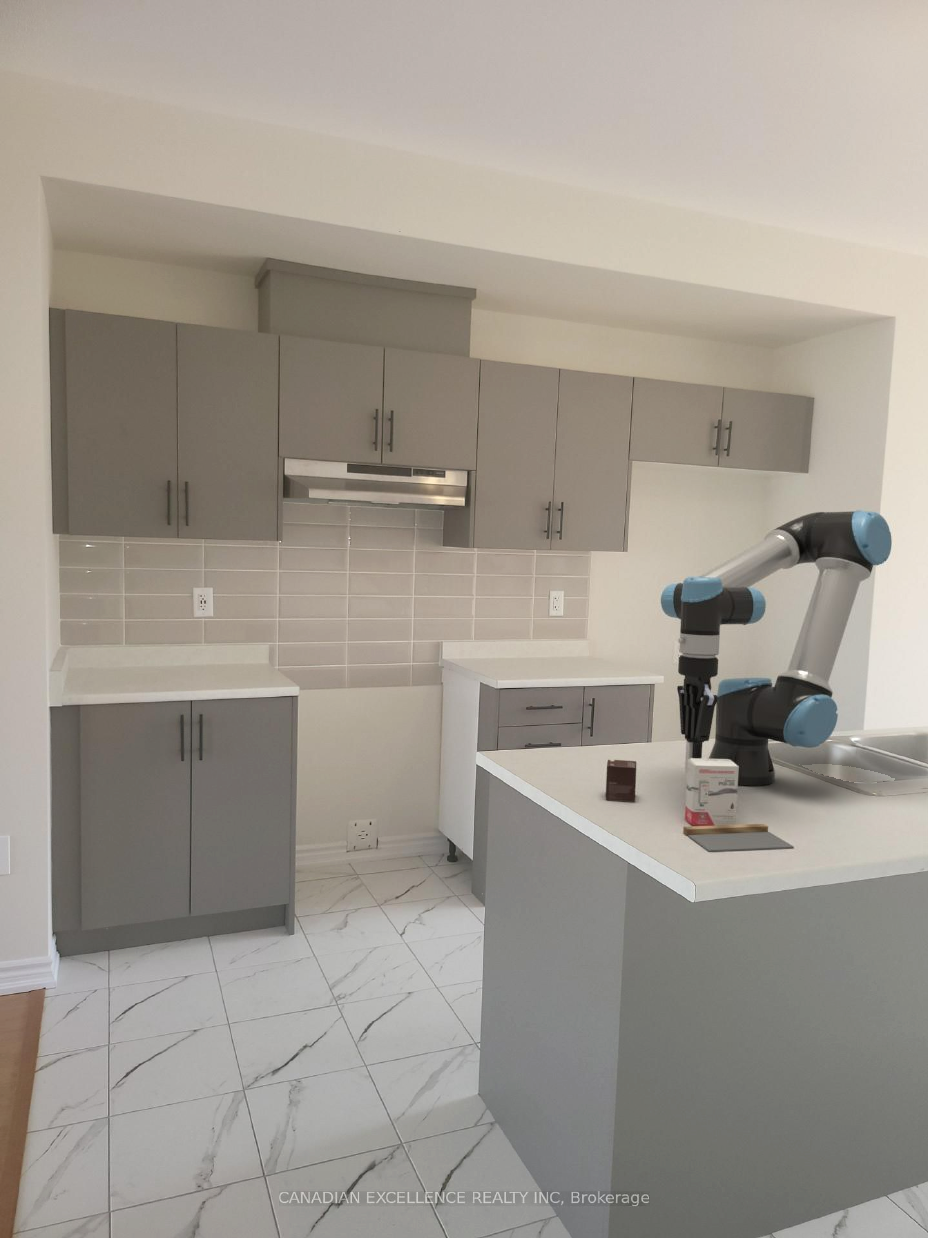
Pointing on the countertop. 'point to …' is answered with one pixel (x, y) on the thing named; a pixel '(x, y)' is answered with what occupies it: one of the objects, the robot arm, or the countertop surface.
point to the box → (621, 780)
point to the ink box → (711, 792)
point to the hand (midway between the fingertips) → (692, 773)
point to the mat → (740, 841)
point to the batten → (725, 829)
